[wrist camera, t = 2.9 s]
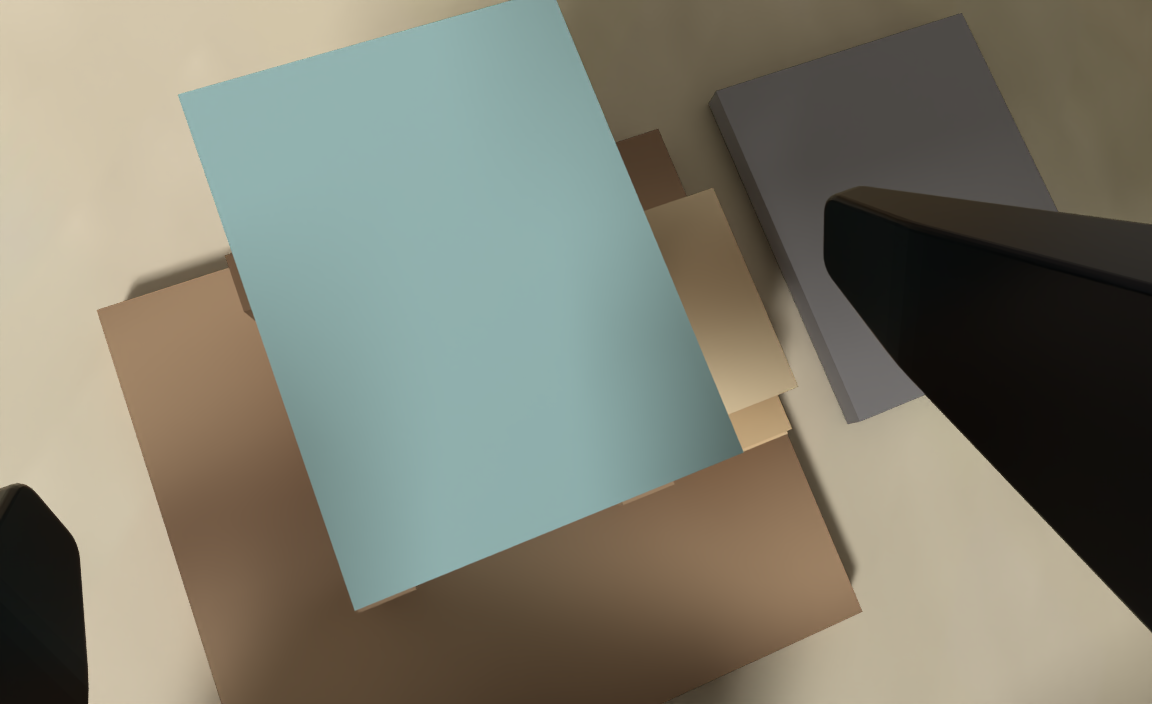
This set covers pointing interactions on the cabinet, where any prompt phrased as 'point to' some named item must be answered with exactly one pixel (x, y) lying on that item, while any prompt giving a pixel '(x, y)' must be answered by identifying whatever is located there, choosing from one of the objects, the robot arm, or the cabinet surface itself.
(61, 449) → the cabinet surface
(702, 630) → the rack
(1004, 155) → the mat
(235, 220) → the teal rectangular block
